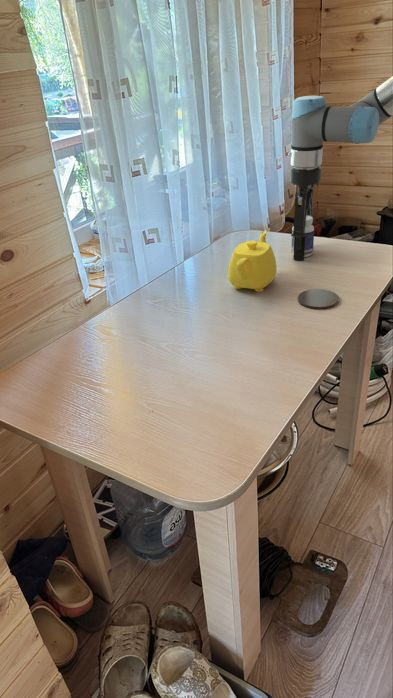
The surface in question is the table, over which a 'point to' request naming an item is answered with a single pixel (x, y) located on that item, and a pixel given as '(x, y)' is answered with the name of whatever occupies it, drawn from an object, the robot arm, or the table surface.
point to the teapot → (252, 265)
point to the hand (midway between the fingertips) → (301, 252)
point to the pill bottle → (307, 237)
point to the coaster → (318, 299)
